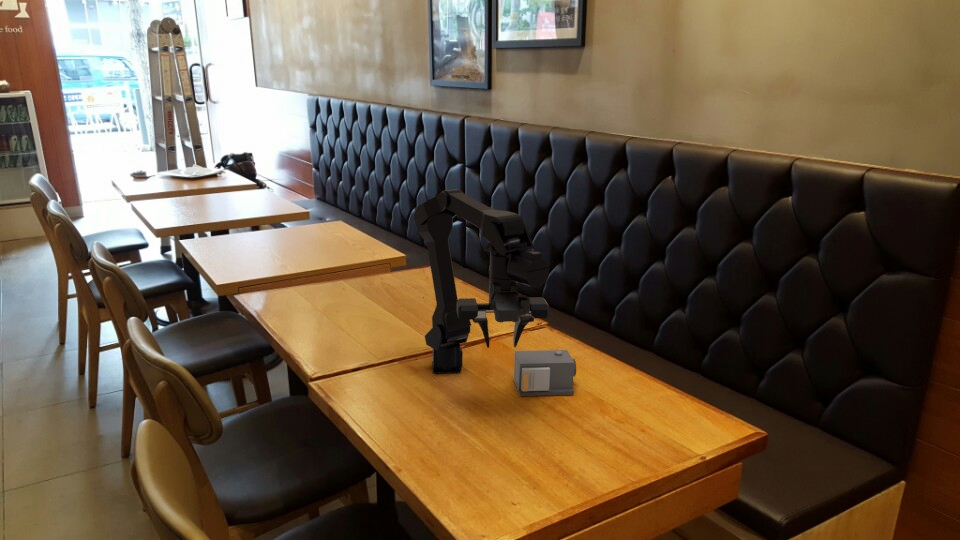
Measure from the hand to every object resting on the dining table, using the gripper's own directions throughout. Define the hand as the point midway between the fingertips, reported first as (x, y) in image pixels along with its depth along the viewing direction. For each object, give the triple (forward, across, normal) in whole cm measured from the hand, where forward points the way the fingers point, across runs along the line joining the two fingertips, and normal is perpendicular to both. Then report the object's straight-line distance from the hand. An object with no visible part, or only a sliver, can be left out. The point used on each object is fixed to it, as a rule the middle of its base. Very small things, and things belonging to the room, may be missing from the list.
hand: (501, 346), depth 142 cm
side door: (+11, +8, +1) cm, 13 cm away
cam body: (+12, +10, +6) cm, 17 cm away
